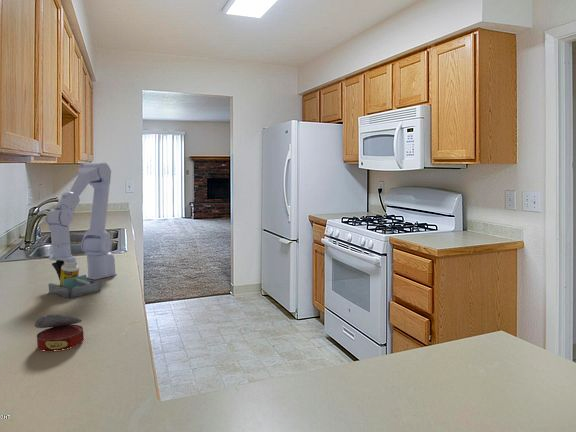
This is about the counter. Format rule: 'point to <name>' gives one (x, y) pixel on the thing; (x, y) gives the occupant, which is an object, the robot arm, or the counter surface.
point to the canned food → (58, 332)
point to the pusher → (75, 281)
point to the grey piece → (74, 289)
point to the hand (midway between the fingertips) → (63, 282)
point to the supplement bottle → (68, 271)
